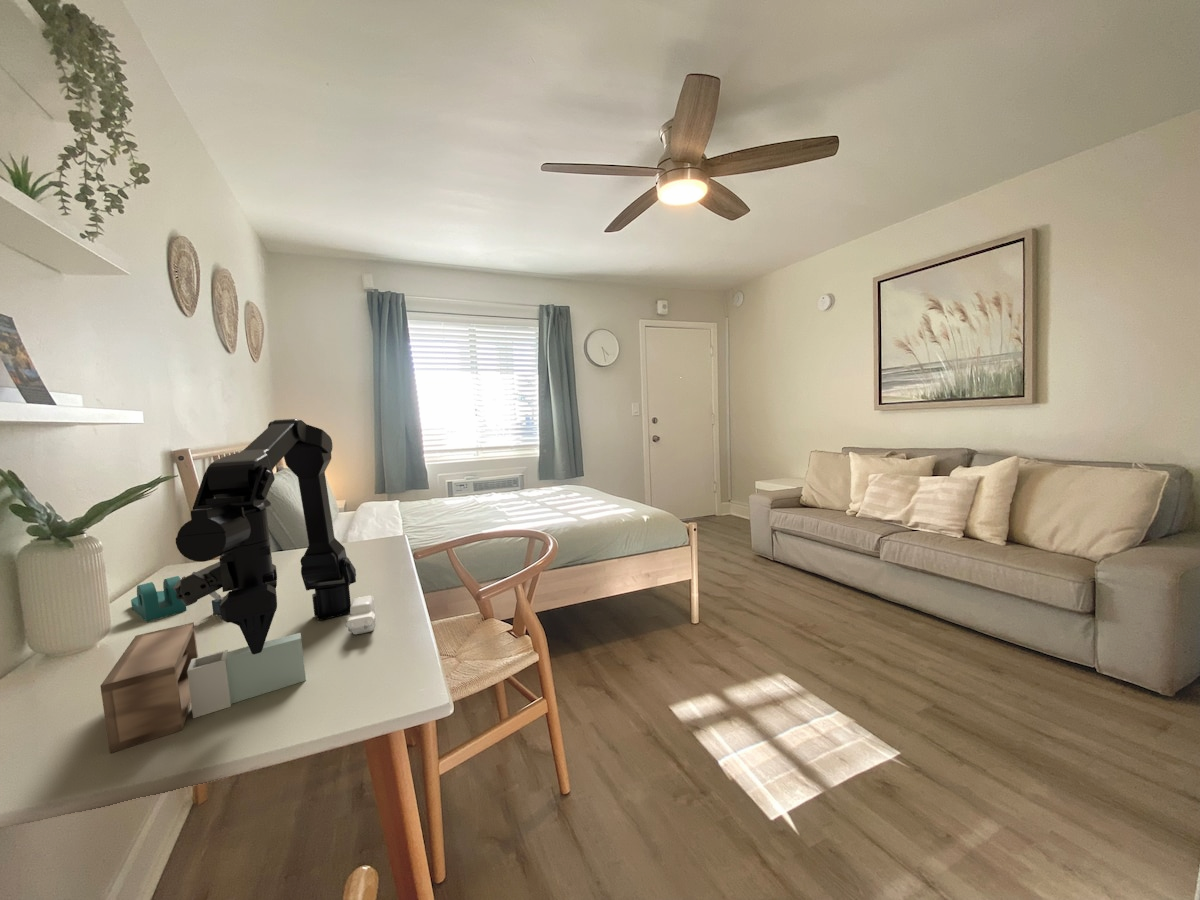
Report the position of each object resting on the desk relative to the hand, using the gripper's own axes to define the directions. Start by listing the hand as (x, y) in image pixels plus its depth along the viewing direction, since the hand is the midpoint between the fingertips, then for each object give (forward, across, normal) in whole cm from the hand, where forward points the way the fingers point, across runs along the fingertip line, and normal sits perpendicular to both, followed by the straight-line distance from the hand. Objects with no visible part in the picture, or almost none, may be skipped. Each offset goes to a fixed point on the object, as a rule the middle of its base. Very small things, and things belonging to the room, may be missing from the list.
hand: (257, 641), depth 72 cm
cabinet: (+8, -5, -10) cm, 14 cm away
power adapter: (+8, -11, +16) cm, 21 cm away
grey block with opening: (+8, 0, -1) cm, 8 cm away
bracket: (+8, -62, -22) cm, 66 cm away
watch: (+8, -46, -7) cm, 47 cm away
